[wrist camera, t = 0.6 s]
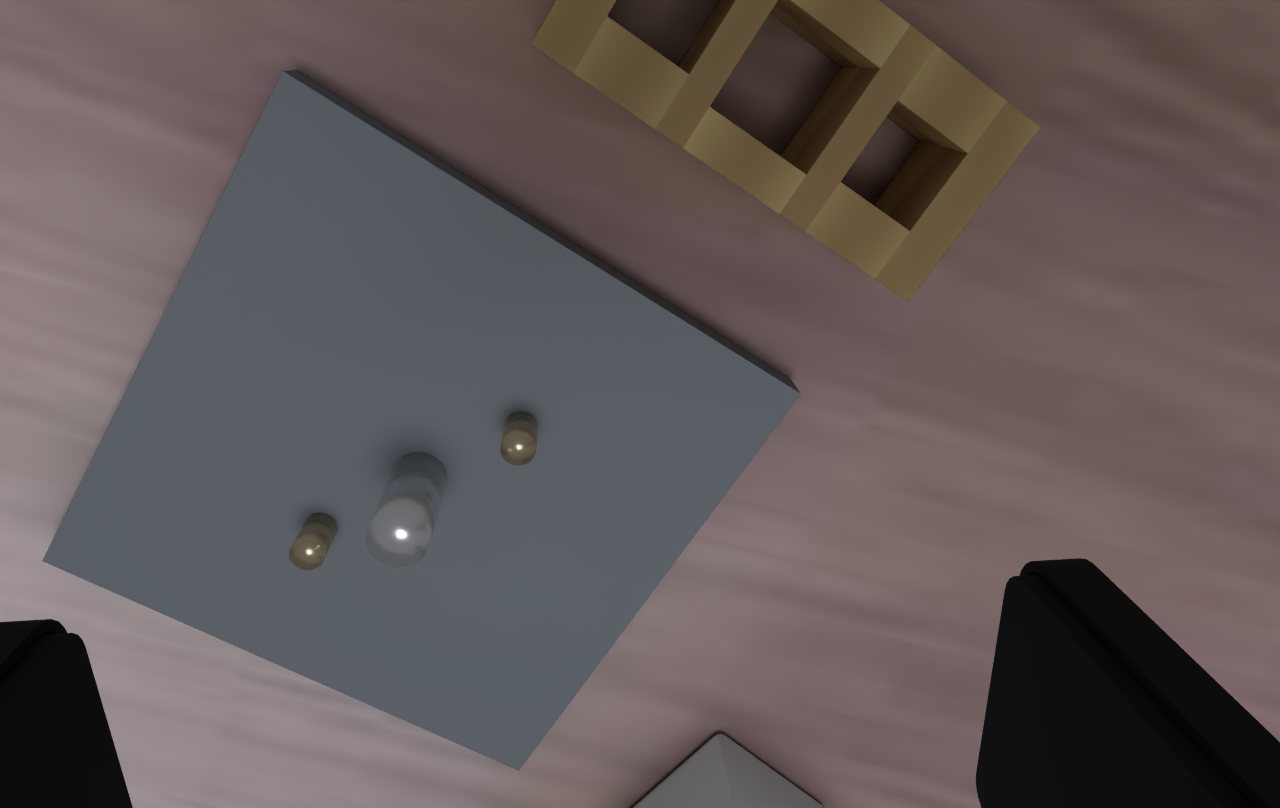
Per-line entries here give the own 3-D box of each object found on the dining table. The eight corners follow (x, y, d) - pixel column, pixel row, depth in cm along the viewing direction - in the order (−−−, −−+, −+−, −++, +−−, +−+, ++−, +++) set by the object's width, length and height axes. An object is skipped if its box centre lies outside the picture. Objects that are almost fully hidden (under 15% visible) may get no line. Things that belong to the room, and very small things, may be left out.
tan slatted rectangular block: (984, 118, 31) (1040, 127, 27) (869, 273, 32) (907, 301, 29) (644, -144, 27) (656, -176, 23) (535, 46, 29) (530, 44, 25)
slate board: (791, 379, 34) (800, 393, 32) (520, 745, 39) (519, 770, 38) (296, 70, 29) (283, 71, 27) (64, 540, 34) (42, 560, 33)
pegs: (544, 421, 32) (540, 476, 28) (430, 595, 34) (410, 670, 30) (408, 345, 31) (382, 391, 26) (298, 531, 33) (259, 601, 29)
